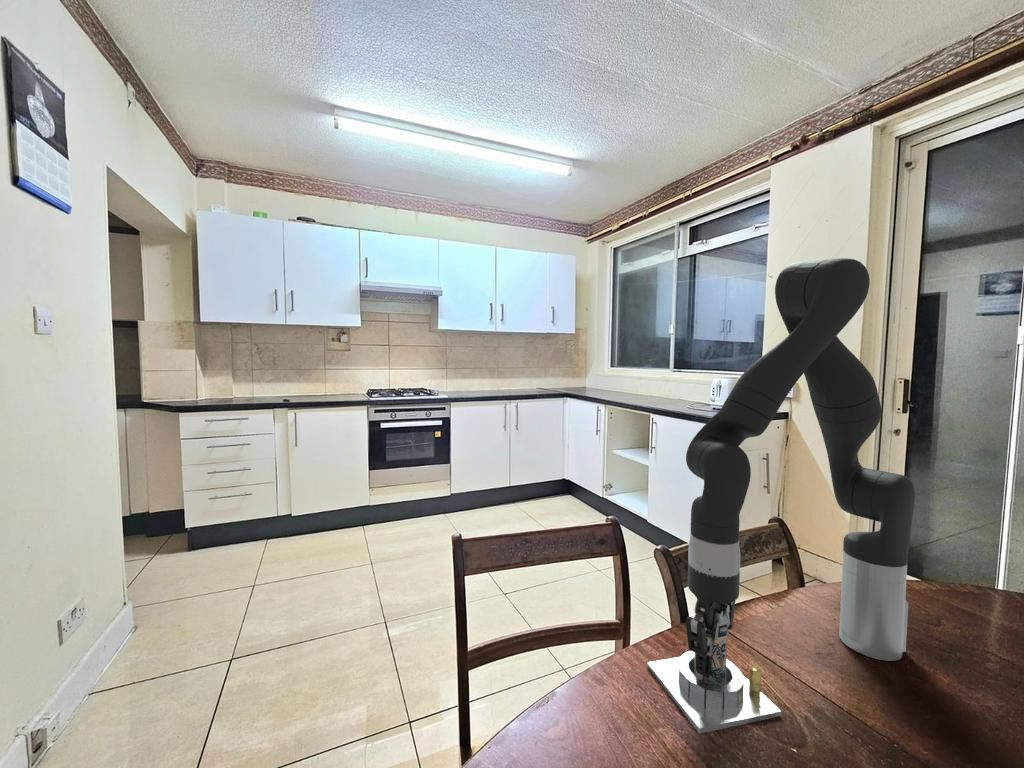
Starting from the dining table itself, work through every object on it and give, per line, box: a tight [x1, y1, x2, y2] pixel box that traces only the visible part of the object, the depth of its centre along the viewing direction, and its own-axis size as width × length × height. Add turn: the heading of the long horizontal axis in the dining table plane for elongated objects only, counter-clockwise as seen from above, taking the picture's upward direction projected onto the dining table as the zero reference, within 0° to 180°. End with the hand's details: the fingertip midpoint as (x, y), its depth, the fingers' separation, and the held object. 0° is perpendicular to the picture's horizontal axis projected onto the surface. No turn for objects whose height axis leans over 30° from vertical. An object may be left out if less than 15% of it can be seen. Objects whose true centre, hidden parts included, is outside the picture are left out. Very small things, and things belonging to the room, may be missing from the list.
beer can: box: [694, 614, 729, 686], centre depth 71 cm, size 5×5×12 cm
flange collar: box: [647, 650, 782, 735], centre depth 71 cm, size 14×14×5 cm
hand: (710, 665), depth 71 cm, fingers closed on beer can, 5 cm apart
